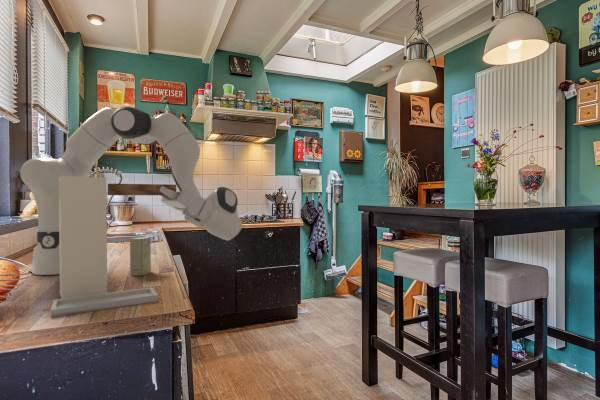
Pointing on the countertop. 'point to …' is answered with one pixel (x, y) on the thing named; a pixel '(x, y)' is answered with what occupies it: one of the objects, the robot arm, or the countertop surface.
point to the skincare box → (140, 256)
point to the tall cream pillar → (82, 236)
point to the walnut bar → (137, 189)
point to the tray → (102, 301)
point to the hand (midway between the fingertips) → (157, 188)
